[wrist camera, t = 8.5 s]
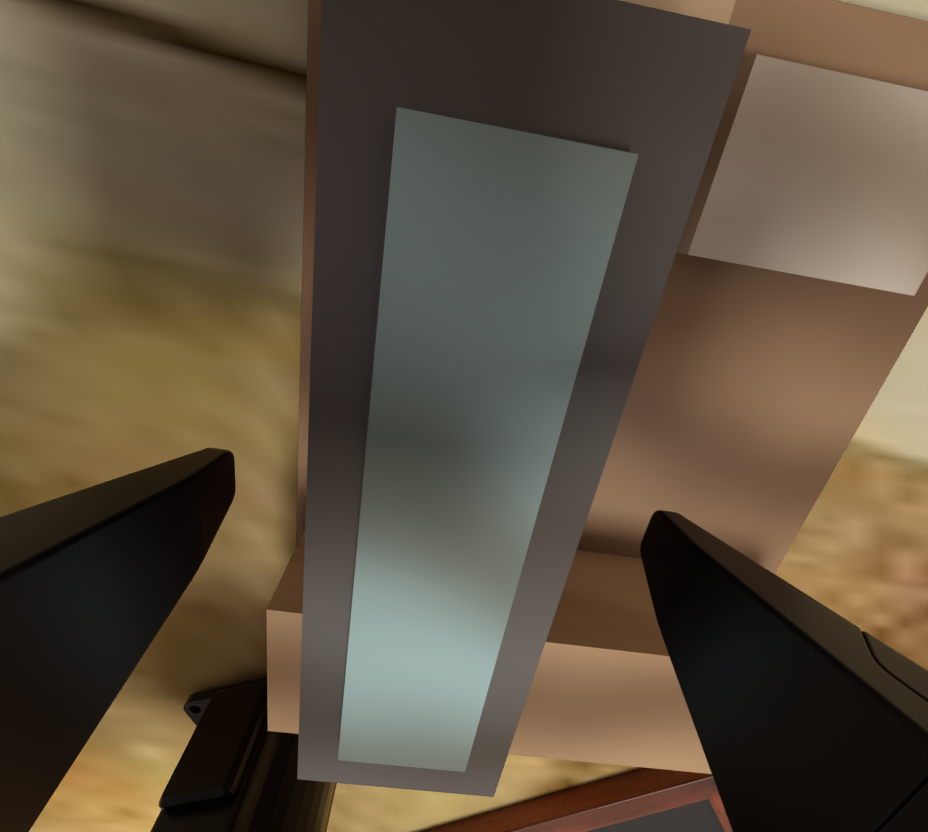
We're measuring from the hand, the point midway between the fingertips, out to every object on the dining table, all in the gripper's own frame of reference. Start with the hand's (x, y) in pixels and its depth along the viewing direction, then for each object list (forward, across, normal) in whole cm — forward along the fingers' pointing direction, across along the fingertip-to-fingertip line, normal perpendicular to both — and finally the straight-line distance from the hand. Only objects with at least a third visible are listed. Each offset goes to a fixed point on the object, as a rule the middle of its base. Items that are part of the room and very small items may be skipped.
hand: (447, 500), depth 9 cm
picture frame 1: (+1, 0, 0) cm, 1 cm away
